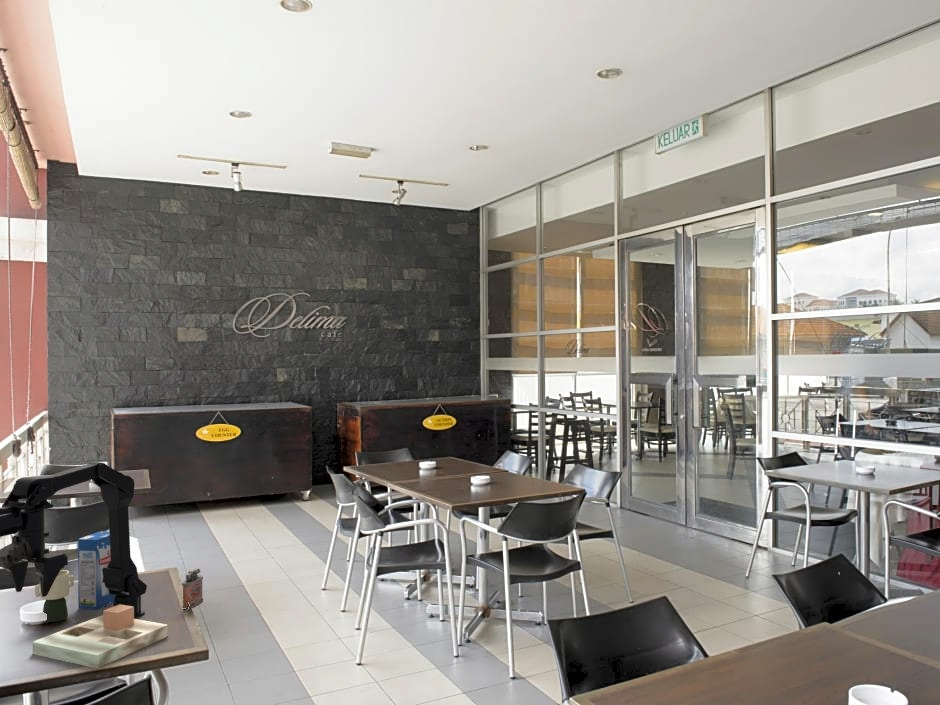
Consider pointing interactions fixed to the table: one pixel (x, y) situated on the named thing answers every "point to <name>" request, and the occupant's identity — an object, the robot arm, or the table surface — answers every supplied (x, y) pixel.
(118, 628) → the block
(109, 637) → the cream flat piece
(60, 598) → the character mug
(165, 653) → the table surface
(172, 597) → the table surface
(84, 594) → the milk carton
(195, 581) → the lighter
